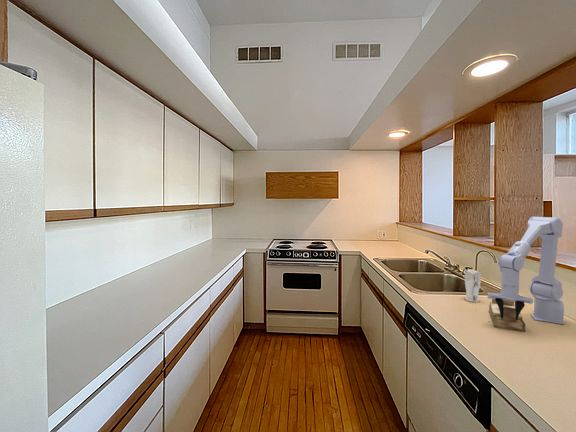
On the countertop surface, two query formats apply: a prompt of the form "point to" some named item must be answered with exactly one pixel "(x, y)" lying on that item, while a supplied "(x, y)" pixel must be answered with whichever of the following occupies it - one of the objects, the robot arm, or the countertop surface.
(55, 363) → the countertop surface
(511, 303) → the lid
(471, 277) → the beer glass
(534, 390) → the countertop surface
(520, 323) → the brown divided tray
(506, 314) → the block
